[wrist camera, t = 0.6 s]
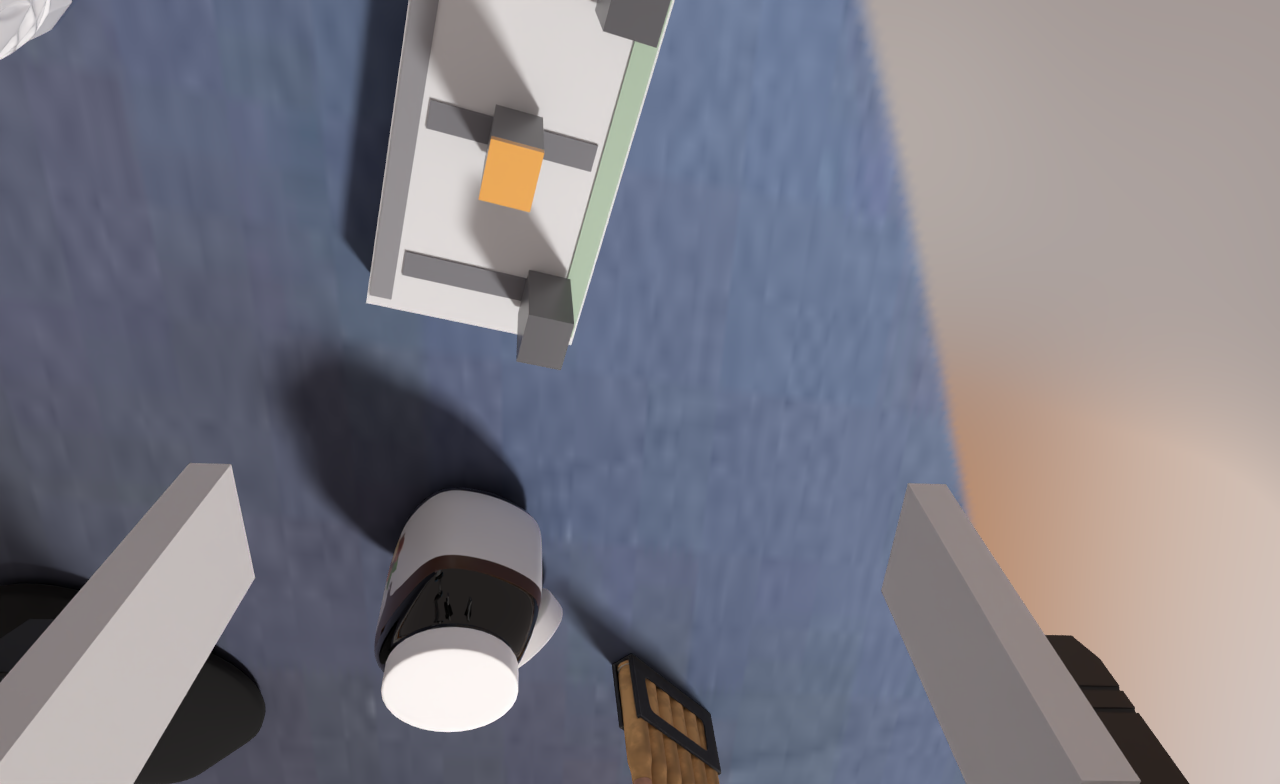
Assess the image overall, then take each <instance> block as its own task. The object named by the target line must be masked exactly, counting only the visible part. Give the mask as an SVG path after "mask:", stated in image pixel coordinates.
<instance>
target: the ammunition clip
mask: <svg viewBox="0 0 1280 784" xmlns="http://www.w3.org/2000/svg"><path fill="white" fill-rule="evenodd" d="M612 670H613V678H614V687H615V695H616V703H617V712H618V720H619V727H620V728H621V729H622V730H624V733H625V742H626V751H627V760H628V765H629V768H630V771H631V775H632V781H633V784H719V779H718V775H720V774H721V768H720V763H719V758H718V752H717V747H716V741H715V736H714V730H713V725H712V720H711V714H710V713H709V712H707V711H706V710H705V709H703V708H702V707H701V706H700V705H698V704H697V703H696V702H694V701H693V700H692V699H690V698H689V697H688V696H687V695H685V694H684V693H683V692H681V691H680V690H679V689H678V688H676V687H675V686H674V685H672V684H671V683H670V682H668V681H667V680H666V679H665V678H663V677H662V676H661V675H659V674H658V673H657V672H655V671H654V670H653V669H652V668H650V667H649V666H648V665H646V664H645V663H644V662H643V661H641V660H640V659H639V658H637V657H636V656H635V655H633V654H630V655H628V656H626V657H625V658H623V659H621V660H619V661H618V662H616V663H614V664H613V665H612Z"/></svg>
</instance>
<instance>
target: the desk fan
mask: <svg viewBox="0 0 1280 784" xmlns="http://www.w3.org/2000/svg"><path fill="white" fill-rule="evenodd" d="M78 592H79V591H78V590H74V589H70V588H65V587H60V586H54V585H45V584H30V583H23V584H9V585H2V586H0V638H2V637H3V636H5V635H6V634H8V633H9V632H11V631H12V630H14V629H15V628H17V627H18V626H20V625H21V624H23V623H24V622H26V621H27V620H29V619H56V617H57V616H58V615H59V614H60V613H61V612H62V610H63V609H64V608H65V607H66V606H67V605H68V603H69V602H70V601H71V600H72V599H73V598H74V597H75V595H76V594H77V593H78ZM264 716H265V703H264V699H263V697H262V695H261V693H260V691H259V689H258V688H257V686H256V685H255V684H254V683H253V682H252V680H251V679H250V678H249V677H248V676H246V675H245V674H244V673H243V672H242V671H241V670H239V669H238V668H236V667H235V666H233V665H232V664H231V663H229V662H227V661H225V660H224V659H222V658H220V657H218V656H216V655H214V654H213V653H210V655H209V656H208V658H207V660H206V661H205V663H204V665H203V667H202V668H201V670H200V672H199V673H198V675H197V677H196V678H195V680H194V682H193V683H192V685H191V687H190V689H189V690H188V692H187V694H186V695H185V697H184V699H183V700H182V702H181V704H180V706H179V707H178V709H177V711H176V712H175V714H174V716H173V717H172V719H171V721H170V722H169V724H168V726H167V728H166V729H165V731H164V733H163V734H162V736H161V738H160V739H159V741H158V743H157V745H156V746H155V748H154V750H153V751H152V753H151V755H150V756H149V758H148V760H147V761H146V763H145V765H144V767H143V768H142V770H141V772H140V773H139V775H138V777H137V778H136V780H135V782H134V784H170V783H176V782H181V781H185V780H188V779H190V778H193V777H195V776H197V775H199V774H201V773H202V772H204V771H205V770H207V769H208V768H210V767H211V766H213V765H214V764H216V763H217V762H219V761H220V760H222V759H223V758H225V757H226V756H228V755H229V754H231V753H232V752H234V751H235V750H237V749H238V748H240V747H241V746H243V745H244V744H246V743H247V742H249V741H250V740H251V739H252V738H254V737H255V736H256V734H257V733H258V732H259V730H260V728H261V726H262V723H263V720H264Z"/></svg>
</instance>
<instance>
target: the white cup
mask: <svg viewBox="0 0 1280 784" xmlns="http://www.w3.org/2000/svg"><path fill="white" fill-rule="evenodd" d="M71 3H72V0H0V60H1V59H3V58H5V57H6V56H8V55H10V54H12V53H13V52H15V51H16V50H17V49H19V48H20V47H21V46H22V45H24V44H25V43H26V42H27V41H30V40H32V39H34V38H36V37H38V36H40V35H42V34H44V33H46V32H48V31H50V30H51V29H52V28H53V27H54V26H55V24H56V23H57V22H58V20H59V19H60V18H61V16H62V15H63V14H64V12H65V11H66V10H67V8H68V7H69V6H70V4H71Z"/></svg>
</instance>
